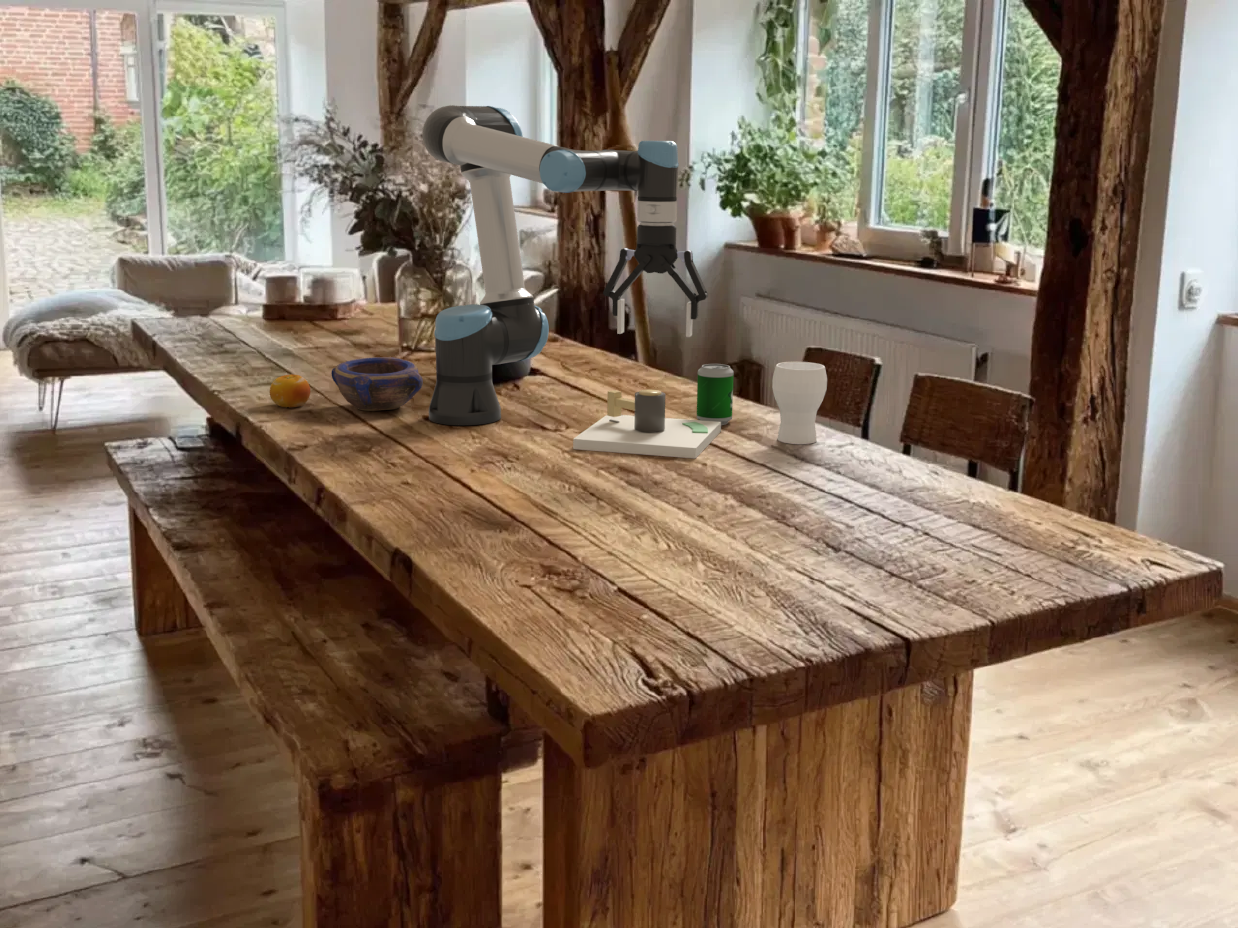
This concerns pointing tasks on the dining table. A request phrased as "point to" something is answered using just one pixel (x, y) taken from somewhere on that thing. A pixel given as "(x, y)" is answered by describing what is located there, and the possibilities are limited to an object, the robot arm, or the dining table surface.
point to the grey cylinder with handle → (640, 408)
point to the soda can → (715, 393)
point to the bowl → (377, 382)
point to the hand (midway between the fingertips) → (654, 334)
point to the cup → (798, 399)
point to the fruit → (290, 391)
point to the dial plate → (648, 437)
